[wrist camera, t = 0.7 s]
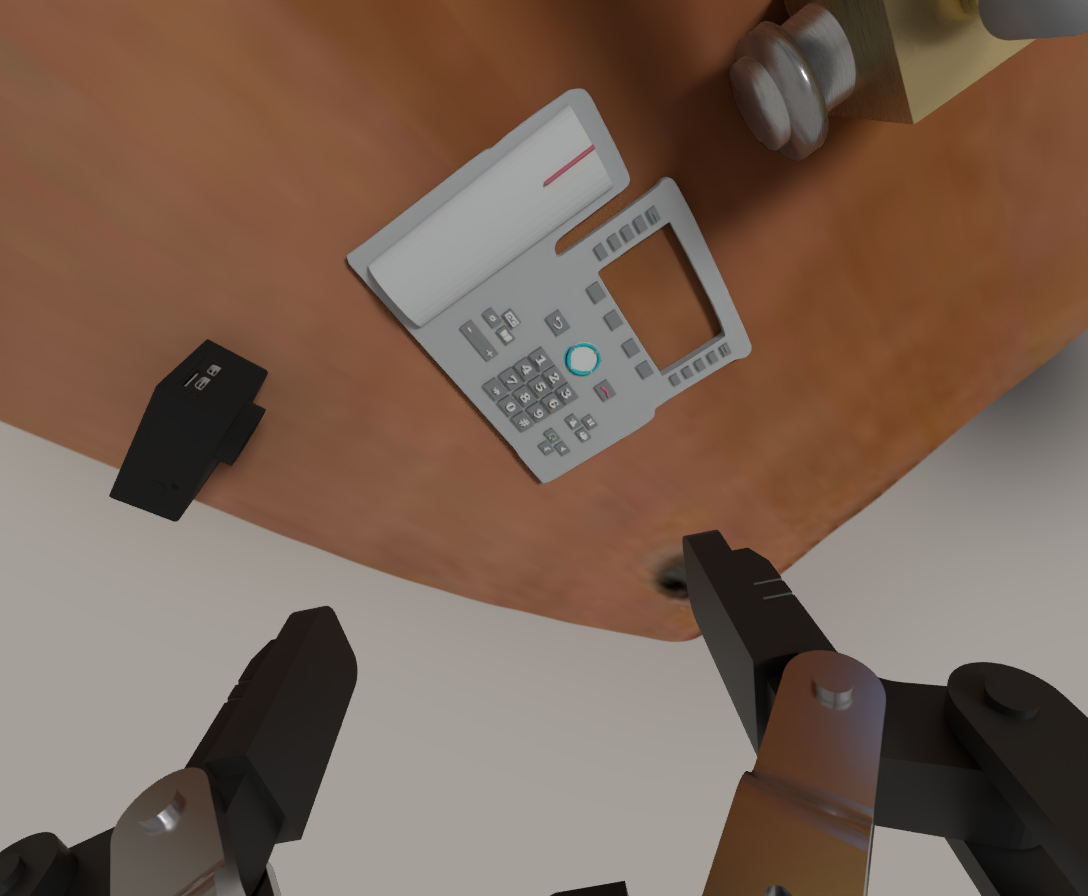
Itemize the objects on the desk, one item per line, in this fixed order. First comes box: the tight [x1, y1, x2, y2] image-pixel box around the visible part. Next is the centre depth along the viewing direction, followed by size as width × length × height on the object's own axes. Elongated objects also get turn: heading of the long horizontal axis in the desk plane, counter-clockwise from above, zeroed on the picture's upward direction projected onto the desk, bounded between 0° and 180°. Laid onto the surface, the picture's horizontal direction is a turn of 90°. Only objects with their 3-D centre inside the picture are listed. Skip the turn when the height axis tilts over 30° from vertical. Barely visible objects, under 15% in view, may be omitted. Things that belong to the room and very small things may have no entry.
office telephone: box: [347, 89, 751, 483], centre depth 36 cm, size 23×3×20 cm
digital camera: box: [109, 339, 268, 521], centre depth 36 cm, size 10×5×7 cm, turn 142°
